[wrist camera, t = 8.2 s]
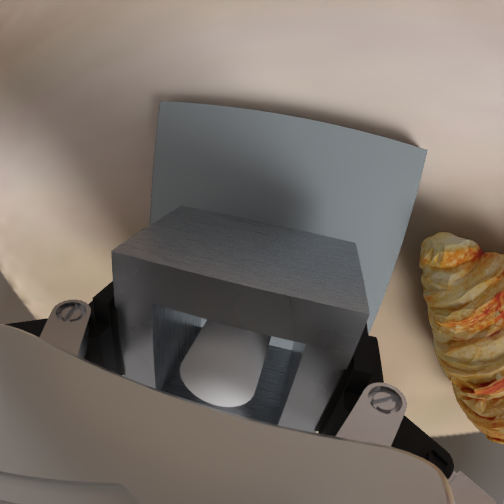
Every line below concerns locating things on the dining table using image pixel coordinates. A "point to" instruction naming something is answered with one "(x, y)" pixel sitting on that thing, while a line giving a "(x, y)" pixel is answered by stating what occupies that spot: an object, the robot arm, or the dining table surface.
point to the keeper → (280, 208)
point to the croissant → (468, 324)
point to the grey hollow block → (241, 306)
